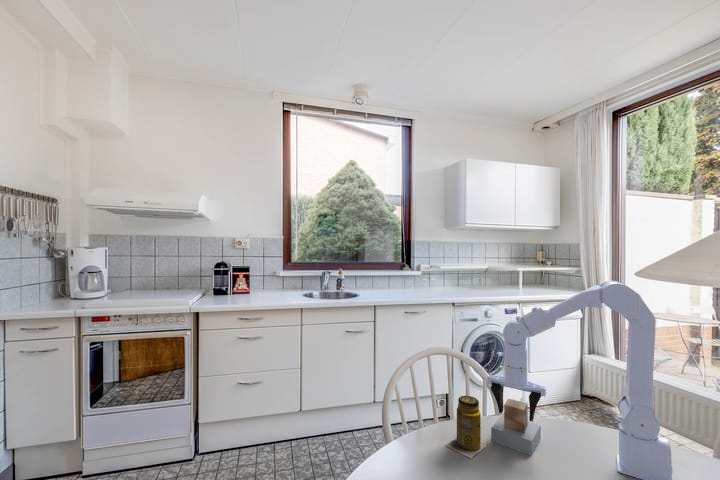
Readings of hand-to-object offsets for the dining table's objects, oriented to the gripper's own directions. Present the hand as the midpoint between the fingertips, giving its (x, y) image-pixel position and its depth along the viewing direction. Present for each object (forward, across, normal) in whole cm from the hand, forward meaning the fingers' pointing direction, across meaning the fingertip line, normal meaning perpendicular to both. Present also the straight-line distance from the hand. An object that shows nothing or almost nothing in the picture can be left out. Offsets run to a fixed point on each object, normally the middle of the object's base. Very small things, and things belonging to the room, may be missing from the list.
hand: (516, 415), depth 93 cm
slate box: (+7, 0, 0) cm, 7 cm away
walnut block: (+3, 0, 0) cm, 3 cm away
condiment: (+7, +10, +11) cm, 16 cm away
